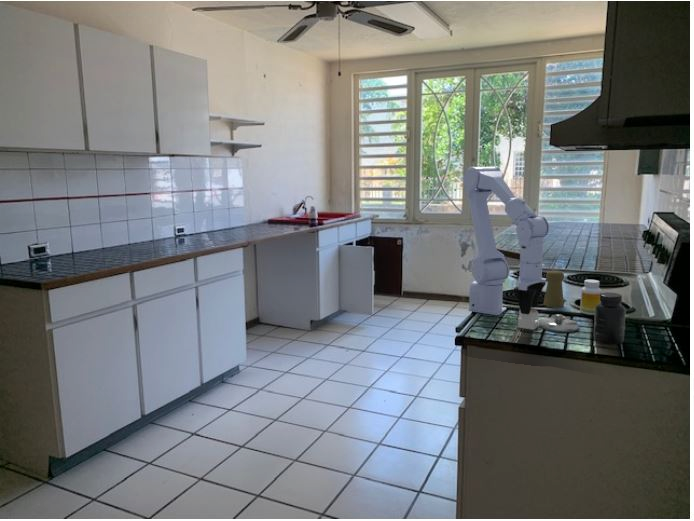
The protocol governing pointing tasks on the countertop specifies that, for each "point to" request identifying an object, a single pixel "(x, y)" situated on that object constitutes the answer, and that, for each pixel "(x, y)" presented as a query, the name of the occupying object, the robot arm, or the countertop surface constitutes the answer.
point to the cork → (554, 289)
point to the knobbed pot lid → (558, 324)
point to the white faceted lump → (528, 320)
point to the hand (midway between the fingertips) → (529, 310)
